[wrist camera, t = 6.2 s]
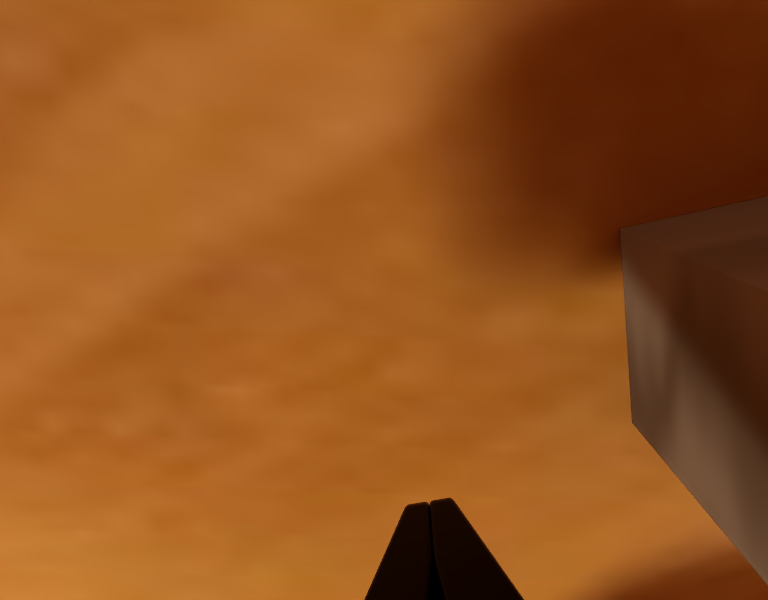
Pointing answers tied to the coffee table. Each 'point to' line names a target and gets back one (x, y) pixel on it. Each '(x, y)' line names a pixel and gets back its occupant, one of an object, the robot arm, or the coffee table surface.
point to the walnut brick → (705, 359)
